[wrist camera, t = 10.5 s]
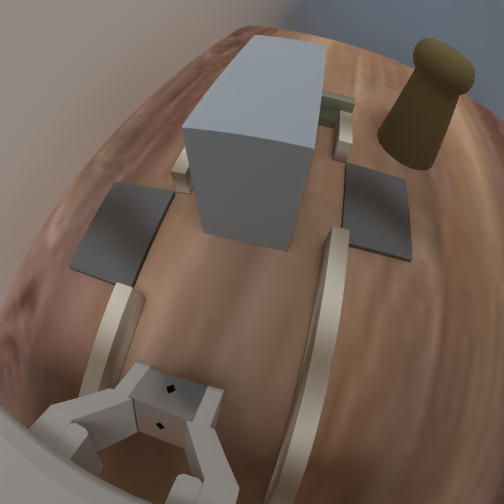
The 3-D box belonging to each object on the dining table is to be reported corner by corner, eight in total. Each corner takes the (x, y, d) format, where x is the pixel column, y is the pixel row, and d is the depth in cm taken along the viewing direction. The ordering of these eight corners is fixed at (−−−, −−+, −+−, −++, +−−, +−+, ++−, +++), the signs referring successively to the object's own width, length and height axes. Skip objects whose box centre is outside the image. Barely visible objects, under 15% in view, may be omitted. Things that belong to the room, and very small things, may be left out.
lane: (368, 506, 9) (391, 524, 6) (29, 399, 11) (-2, 396, 8) (396, 140, 22) (408, 116, 19) (178, 98, 24) (173, 73, 21)
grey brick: (286, 252, 16) (314, 148, 9) (204, 233, 17) (181, 127, 10) (310, 129, 22) (327, 45, 14) (252, 118, 22) (255, 34, 15)
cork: (427, 137, 22) (468, 52, 13) (439, 178, 20) (497, 83, 10) (375, 118, 23) (407, 22, 13) (379, 157, 20) (427, 42, 10)
